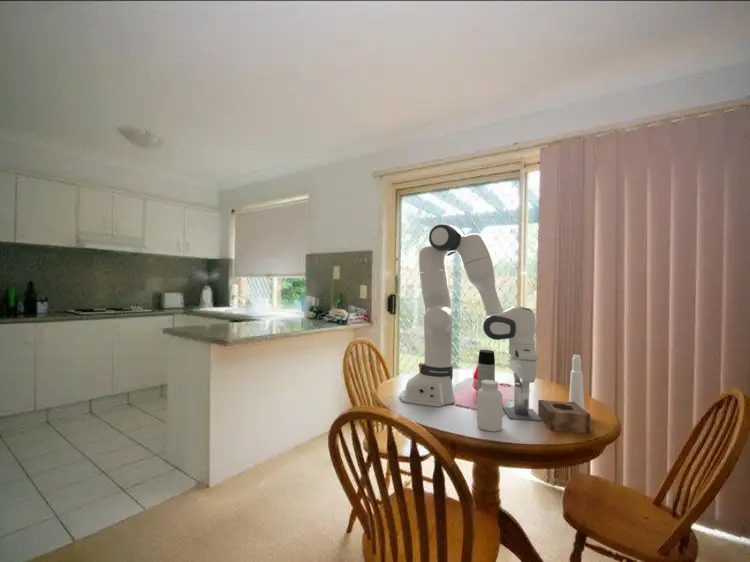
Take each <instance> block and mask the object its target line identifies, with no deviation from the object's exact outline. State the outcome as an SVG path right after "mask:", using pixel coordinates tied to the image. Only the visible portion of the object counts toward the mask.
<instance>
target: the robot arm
mask: <svg viewBox="0 0 750 562" xmlns="http://www.w3.org/2000/svg"><path fill="white" fill-rule="evenodd" d="M428 240H429V241H428V242H429V244H428V245H425V246H423V247H422V248H421V249H420V250H419V253H418V270H419V279H420V280H419V281H420V287H421V293H422V298H423V299H422V300H423V305H424V310H425V313H424V316H423V333H424V334H423V336H424V337H423V339H424V363H423V362H419V363H418V369H419V372H418V373H417V374H415V375H413V376H412V377H411V378H410V379H408V381H407V382H406V385H405V388H404V390H402V391H401V392H400V395H399V399H400V400H401V402H403V403H408V404H416V405H423V406H430V407H439V408H440V407H443V406H446V405H450V404H453V403H455V401H456V398H455V397H456V396H455V394H454V388H453V378H454V367H453V364H452V363H453V362H452V359H453V358H452V357H453V348H452V347H453V310H452V304H451V296H450V290H449V289H450V288H449V282H448V273H447V266H446V258H447V257H448V256H449V257H450V256H451V255H453V254H455V253H457V254H458V256H459V258H460V261H461V263H462V264H461V265H462V268H463V270H464V273H465V275H466V278H468V279H467V280H468V281H469V282H470V283H471V284H472V285H473V286H474V287H475V289H476V290H477V291H478V293H479V295H480V298H481V301H482V303H483V308H484V310H485V315H486V319H485V320H484V323H483V325H482V326H483V327H482V328H483V332H484V334H485V335H486V336H487V337H488V338H490V339H492V340H494V341H501V340H508V354H509V369H510V370H511V371H512V373H513V379H514V384H515V382H523V384H522V389H521V390H522V391H523V392H525V393H527V392H528V387H529V388H530V383H535V381H536V378H537V377H536V376H537V367H538V366H537V361H538V360H539V353H538V352H537V350H536V340H535V334H536V328H537V327H536V326H537V325H536V314H535V312H534V311H533V310H532V309H531V308H530V307H529V308H528V307H525V306H521V305H520V306H519V305H513V306H511V307H510V308H508V309H506V310H503V308H502V305H501V301H500V298H499V295H498V293H497V289H496V281H495V279H496V276H495V267H494V262H493V259H492V255H491V253H490V250H489V248H488V246H487V243H486V241H485V240H484V238H483V236H482V235H480V234H479V233H469V234H465V232H464V231H463V230H462V229H461V228H459V227H457V226H455V225H453V224H447V223H439V224H436V225H435V226H433V228H431V230H430V231H429V234H428Z"/></svg>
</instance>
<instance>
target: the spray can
mask: <svg viewBox="0 0 750 562" xmlns="http://www.w3.org/2000/svg"><path fill="white" fill-rule="evenodd" d="M477 359H478V361H477V362H478V363H477V391H478V390H479V389H481V381H482V380H493V381H496V380H495V379H496V376H495V374H496V372H495V371H496V370H495V369H496V367H495V366H496V358H495V351H494V350H491V349H480V350H479V353H478V358H477Z"/></svg>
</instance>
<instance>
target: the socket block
mask: <svg viewBox="0 0 750 562" xmlns="http://www.w3.org/2000/svg"><path fill="white" fill-rule="evenodd" d="M537 403H538V406H537V407H538V411H537V412H538V413H537V415H538V416H539V417H540V418H541V419H542V420H543V421H542V423H543V424H544V425H545V426H546V427H547V428H548V429H549V430H550V431H553V432H554V431H555V432H556V431H557V432H568V433H581V434H591V414H590V413H589V412H588V411H587V410H586V409H585V410H584V409H582V408H581V407H580V406H578V405H577V404H576V403H575V402H569V401H567V400H566V401H563V400H548V399H538V402H537Z"/></svg>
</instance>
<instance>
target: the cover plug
mask: <svg viewBox="0 0 750 562" xmlns="http://www.w3.org/2000/svg"><path fill="white" fill-rule="evenodd" d="M522 384H523V382H522V381H520V382H515V383H514V385H513V386H514V389H513V397H514V400H513V408H514V413H515V414H517V415H521V416H527V415H529V409H530V386H529V387H528V392H527V393H525V392H523V391H522V390H521V389H522Z"/></svg>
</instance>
